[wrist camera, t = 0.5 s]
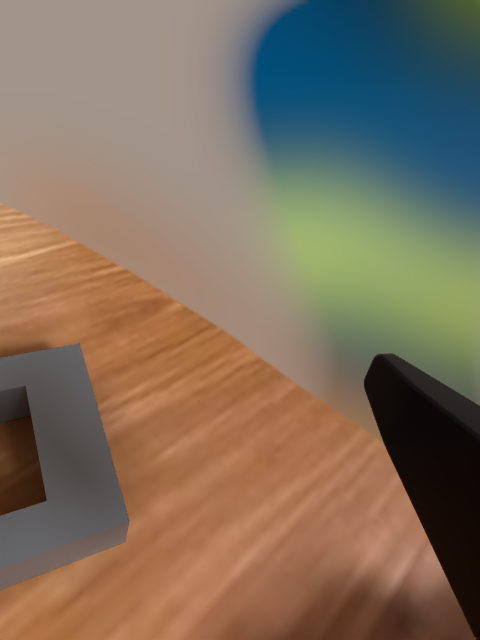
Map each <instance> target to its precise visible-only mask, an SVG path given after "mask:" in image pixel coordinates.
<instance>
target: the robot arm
mask: <svg viewBox="0 0 480 640" xmlns="http://www.w3.org/2000/svg"><path fill="white" fill-rule="evenodd" d="M364 388H365V391H366V394H367V397H368V400H369V403H370V406H371V408H372V411H373V414H374V417H375V420H376V423H377V426H378V428H379V431H380V434H381V437H382V439H383V442H384V445H385V447H386V449H387V451H388V454H389V456H390V458H391V460H392V462H393V464H394V466H395V469H396V471H397V473H398V475H399V477H400V479H401V481H402V483H403V486H404V488H405V490H406V492H407V494H408V496H409V498H410V501H411V503H412V505H413V507H414V509H415V511H416V513H417V515H418V518H419V520H420V522H421V524H422V526H423V528H424V530H425V532H426V535H427V537H428V539H429V541H430V543H431V545H432V547H433V549H434V552H435V554H436V556H437V558H438V560H439V562H440V564H441V566H442V569H443V571H444V573H445V575H446V577H447V579H448V581H449V584H450V586H451V588H452V590H453V592H454V594H455V596H456V598H457V601H458V603H459V605H460V607H461V609H462V611H463V613H464V615H465V618H466V620H467V622H468V624H469V626H470V628H471V630H472V632H473V635H474V636H475V637H476V640H480V406H479V405H477V404H476V403H474V402H473V401H471V400H469V399H467V398H466V397H464V396H462V395H461V394H459V393H458V392H456V391H454V390H453V389H451V388H449V387H448V386H446V385H444V384H443V383H441V382H439V381H438V380H436V379H435V378H433V377H431V376H430V375H428V374H426V373H425V372H423V371H421V370H420V369H418V368H416V367H415V366H413V365H411V364H410V363H408V362H406V361H405V360H403V359H401V358H399V357H398V356H396V355H395V354H390V353H389V354H378V355H376V356H375V357H374V358H373V361H372V363H371V365H370V367H369V370H368V372H367V374H366V376H365V379H364Z"/></svg>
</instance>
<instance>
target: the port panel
mask: <svg viewBox="0 0 480 640" xmlns="http://www.w3.org/2000/svg"><path fill="white" fill-rule="evenodd" d="M27 416H31V418H32V423H33V429H34V434H35V440H36V445H37V450H38V456H39V461H40V467H41V472H42V478H43V483H44V488H45V494H46V499H47V501H45V502H42V503H39V504H35V505H32V506H29V507H26V508H23V509H20V510H17V511H14V512H10V513H7V514H4V515H1V516H0V590H1V589H4V588H7V587H9V586H12V585H14V584H17V583H20V582H22V581H25V580H27V579H30V578H33V577H35V576H38V575H40V574H43V573H46V572H48V571H51V570H53V569H56V568H59V567H61V566H64V565H66V564H69V563H72V562H74V561H77V560H79V559H82V558H85V557H87V556H90V555H92V554H95V553H98V552H100V551H103V550H105V549H108V548H111V547H113V546H116V545H118V544H121V543H124V542H125V541H126V536H127V531H128V526H129V519H128V515H127V511H126V508H125V504H124V501H123V497H122V493H121V490H120V486H119V483H118V479H117V476H116V472H115V468H114V465H113V461H112V458H111V454H110V451H109V447H108V443H107V440H106V436H105V433H104V429H103V426H102V422H101V418H100V415H99V411H98V408H97V404H96V400H95V397H94V393H93V390H92V386H91V383H90V379H89V375H88V372H87V368H86V365H85V361H84V358H83V354H82V350H81V347H80V343H79V344H74V345H68V346H63V347H57V348H51V349H46V350H40V351H35V352H29V353H23V354H18V355H12V356H7V357H1V358H0V423H2V422H6V421H10V420H14V419H19V418H23V417H27Z"/></svg>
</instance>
